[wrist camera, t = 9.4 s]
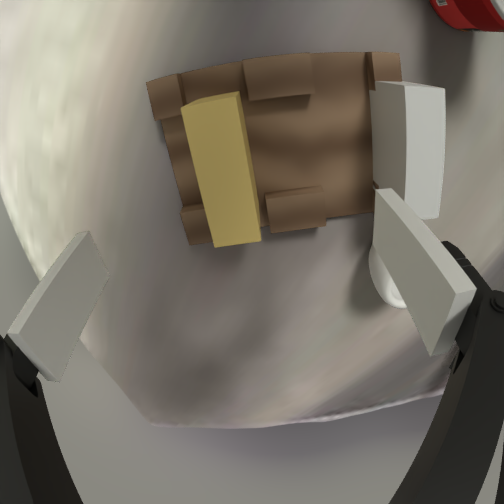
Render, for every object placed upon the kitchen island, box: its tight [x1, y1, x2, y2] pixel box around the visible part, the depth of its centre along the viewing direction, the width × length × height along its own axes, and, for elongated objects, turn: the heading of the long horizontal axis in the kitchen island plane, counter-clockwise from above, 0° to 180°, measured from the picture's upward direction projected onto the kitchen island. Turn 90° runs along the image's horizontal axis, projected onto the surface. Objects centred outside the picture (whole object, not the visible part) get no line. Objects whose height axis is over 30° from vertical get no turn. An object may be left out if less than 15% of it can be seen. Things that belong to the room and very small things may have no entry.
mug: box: [369, 244, 407, 309], centre depth 33 cm, size 12×8×8 cm
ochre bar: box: [181, 91, 261, 248], centre depth 26 cm, size 12×4×8 cm, turn 9°
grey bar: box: [369, 81, 446, 220], centre depth 25 cm, size 12×4×8 cm, turn 9°
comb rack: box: [146, 52, 402, 245], centre depth 28 cm, size 18×24×3 cm
